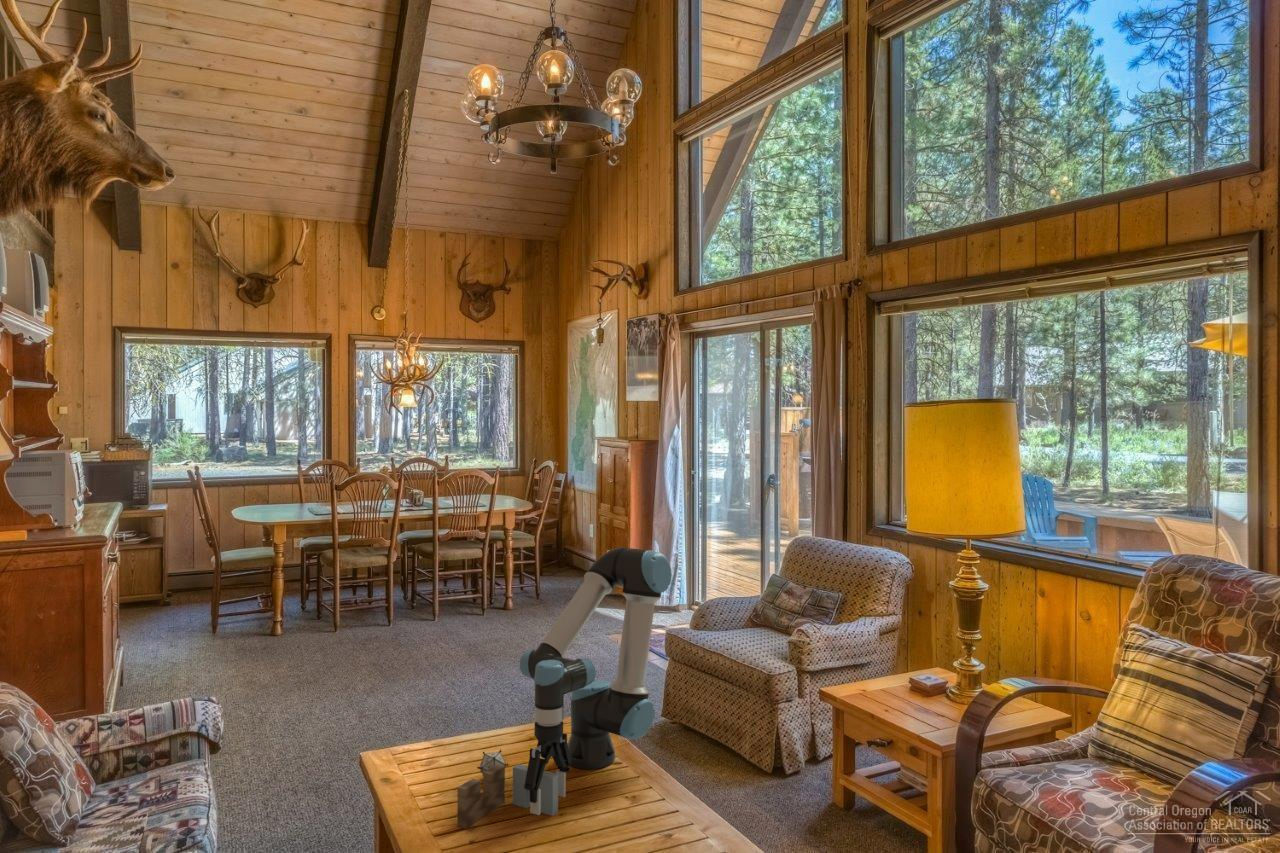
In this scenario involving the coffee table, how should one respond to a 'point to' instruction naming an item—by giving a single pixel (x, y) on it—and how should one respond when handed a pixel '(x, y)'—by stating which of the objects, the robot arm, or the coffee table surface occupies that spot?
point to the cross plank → (546, 785)
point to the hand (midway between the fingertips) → (548, 804)
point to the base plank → (480, 796)
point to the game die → (491, 761)
